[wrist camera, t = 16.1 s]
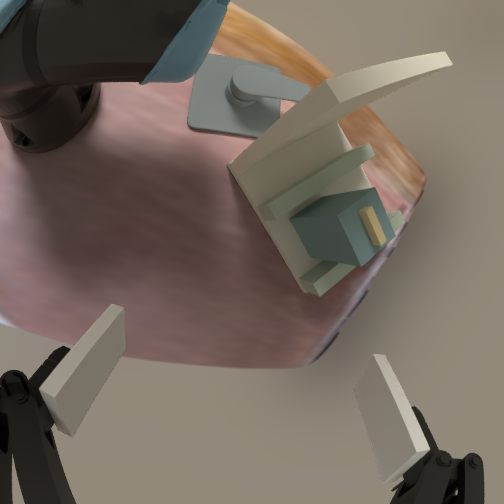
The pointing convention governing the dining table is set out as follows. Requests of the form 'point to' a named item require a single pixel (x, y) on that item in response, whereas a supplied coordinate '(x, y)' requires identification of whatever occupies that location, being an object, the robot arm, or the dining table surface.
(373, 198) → the teal block with bar
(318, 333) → the dining table surface
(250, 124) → the shower valve
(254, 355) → the dining table surface
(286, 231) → the pale green rail stand
